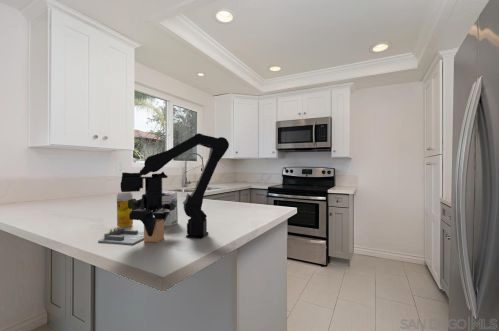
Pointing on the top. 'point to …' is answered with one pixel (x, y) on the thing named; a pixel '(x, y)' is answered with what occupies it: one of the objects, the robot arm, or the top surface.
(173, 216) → the syrup box
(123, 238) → the flat gray board
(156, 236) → the block
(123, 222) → the beer can
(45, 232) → the top surface
